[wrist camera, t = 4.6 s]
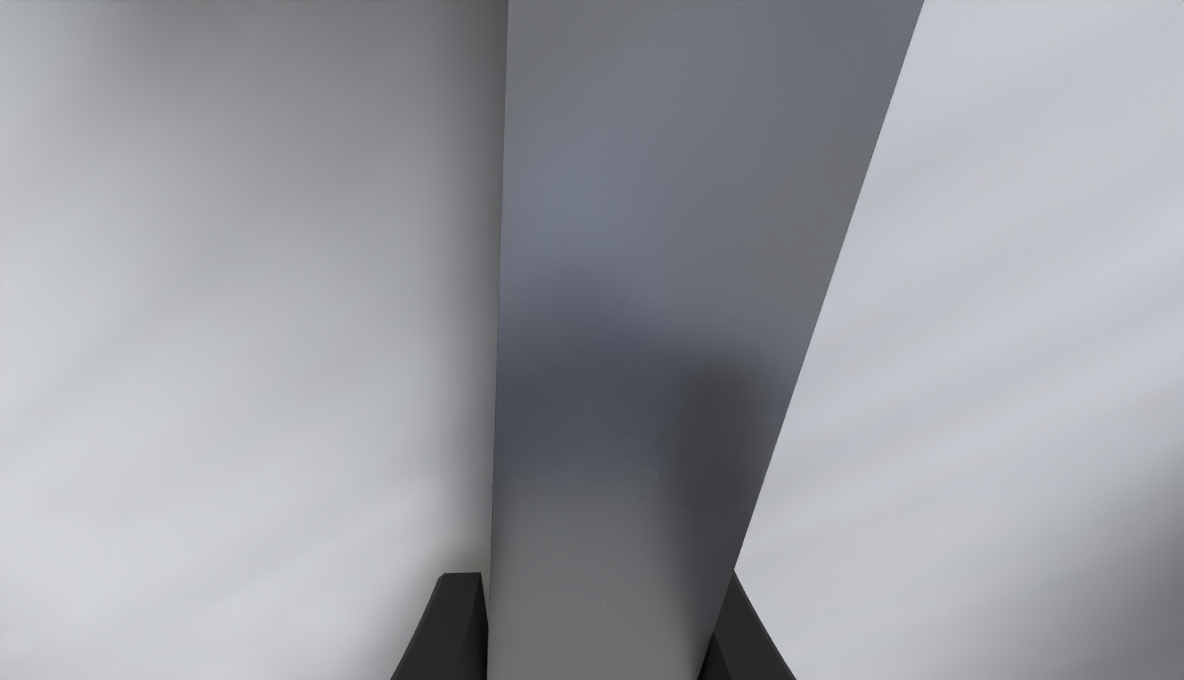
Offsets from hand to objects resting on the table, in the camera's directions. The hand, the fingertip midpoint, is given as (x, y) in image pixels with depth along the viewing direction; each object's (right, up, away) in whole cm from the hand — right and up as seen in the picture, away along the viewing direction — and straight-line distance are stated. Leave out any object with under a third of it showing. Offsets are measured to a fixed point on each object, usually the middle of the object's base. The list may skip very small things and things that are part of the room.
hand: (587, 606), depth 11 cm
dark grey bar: (0, +5, -1) cm, 5 cm away
